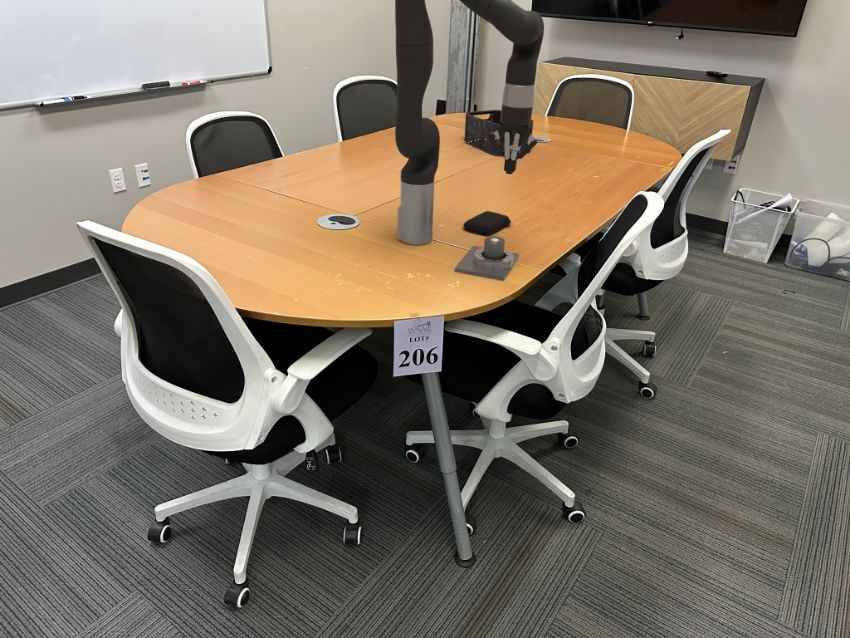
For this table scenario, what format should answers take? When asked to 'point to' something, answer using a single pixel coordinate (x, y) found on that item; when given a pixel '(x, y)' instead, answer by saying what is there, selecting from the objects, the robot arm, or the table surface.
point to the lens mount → (486, 264)
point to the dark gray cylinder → (494, 248)
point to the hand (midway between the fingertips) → (509, 173)
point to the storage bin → (485, 130)
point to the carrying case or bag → (486, 223)
